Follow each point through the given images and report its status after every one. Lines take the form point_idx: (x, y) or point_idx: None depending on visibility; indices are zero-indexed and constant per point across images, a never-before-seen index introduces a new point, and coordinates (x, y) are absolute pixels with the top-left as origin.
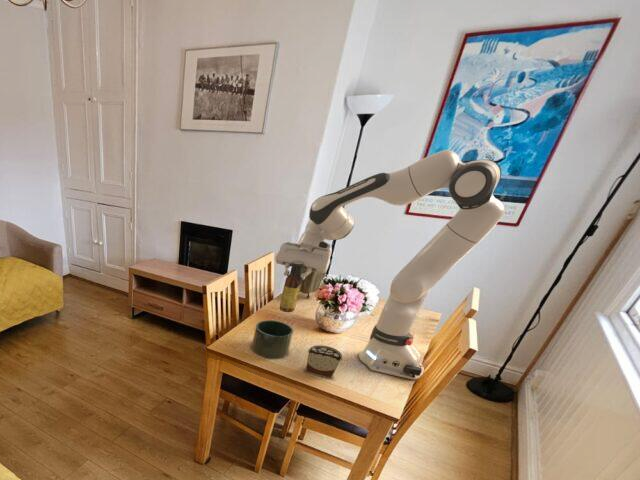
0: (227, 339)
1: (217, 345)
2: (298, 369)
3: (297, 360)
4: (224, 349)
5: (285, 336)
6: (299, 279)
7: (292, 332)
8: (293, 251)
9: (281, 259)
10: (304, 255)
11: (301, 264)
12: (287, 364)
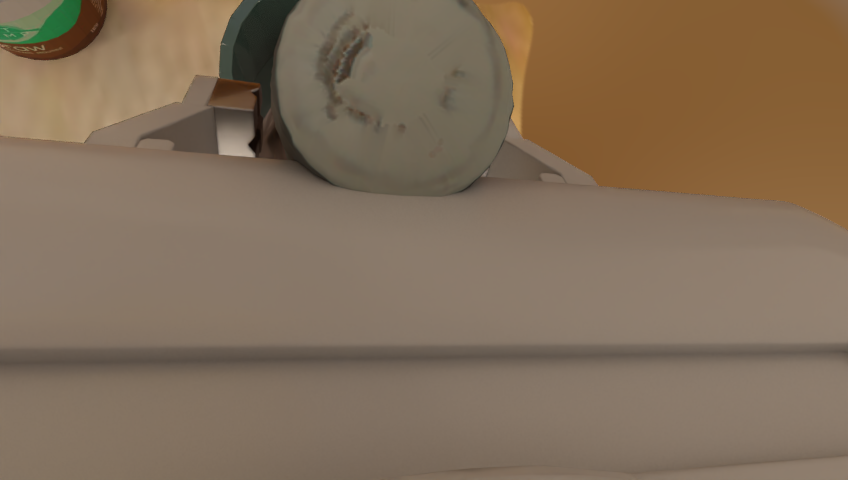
0: (517, 100)
1: (527, 26)
2: (143, 4)
3: (175, 84)
4: (489, 9)
5: (241, 2)
6: (271, 129)
7: (221, 73)
8: (742, 422)
9: (728, 198)
10: (360, 374)
11: (286, 20)
12: (205, 23)
